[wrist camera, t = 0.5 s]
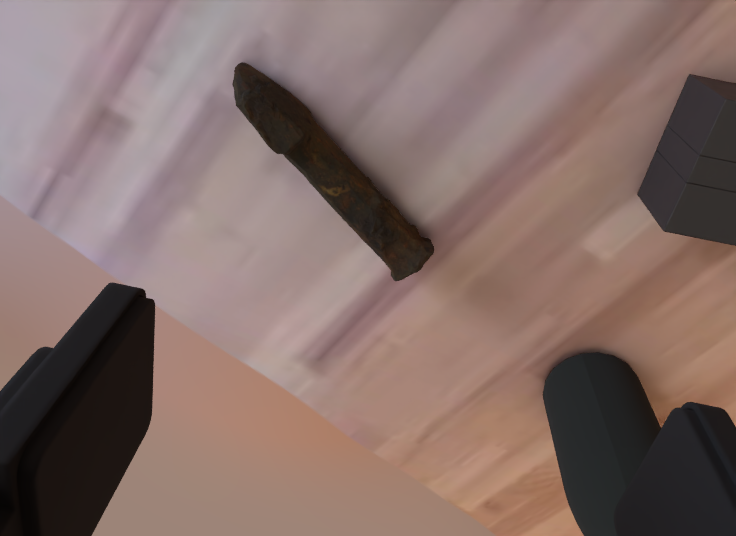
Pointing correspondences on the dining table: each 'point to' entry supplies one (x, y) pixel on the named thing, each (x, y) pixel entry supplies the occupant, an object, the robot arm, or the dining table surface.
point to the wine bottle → (598, 434)
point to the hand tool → (329, 171)
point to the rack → (696, 164)
